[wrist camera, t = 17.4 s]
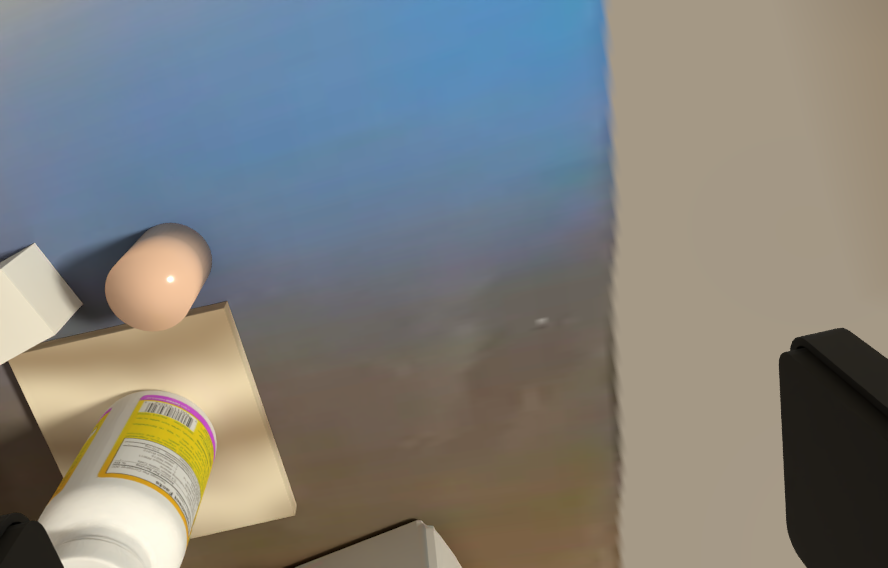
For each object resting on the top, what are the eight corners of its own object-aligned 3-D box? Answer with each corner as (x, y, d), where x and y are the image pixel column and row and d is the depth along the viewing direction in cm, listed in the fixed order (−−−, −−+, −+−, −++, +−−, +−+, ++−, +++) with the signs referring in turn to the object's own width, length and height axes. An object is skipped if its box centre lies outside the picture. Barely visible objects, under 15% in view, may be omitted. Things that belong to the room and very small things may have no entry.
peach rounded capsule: (124, 231, 41) (92, 263, 36) (198, 215, 41) (175, 245, 36) (150, 300, 42) (122, 339, 38) (221, 284, 42) (202, 321, 38)
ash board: (14, 348, 43) (6, 357, 42) (227, 301, 43) (224, 308, 42) (106, 547, 48) (101, 558, 47) (296, 504, 48) (295, 515, 47)
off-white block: (-28, 277, 41) (-67, 307, 37) (35, 242, 41) (1, 268, 37) (23, 336, 43) (-11, 370, 39) (83, 303, 42) (55, 334, 38)
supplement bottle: (128, 498, 45) (41, 681, 34) (79, 403, 43) (-34, 564, 31) (237, 467, 45) (189, 639, 33) (194, 371, 43) (126, 519, 31)
